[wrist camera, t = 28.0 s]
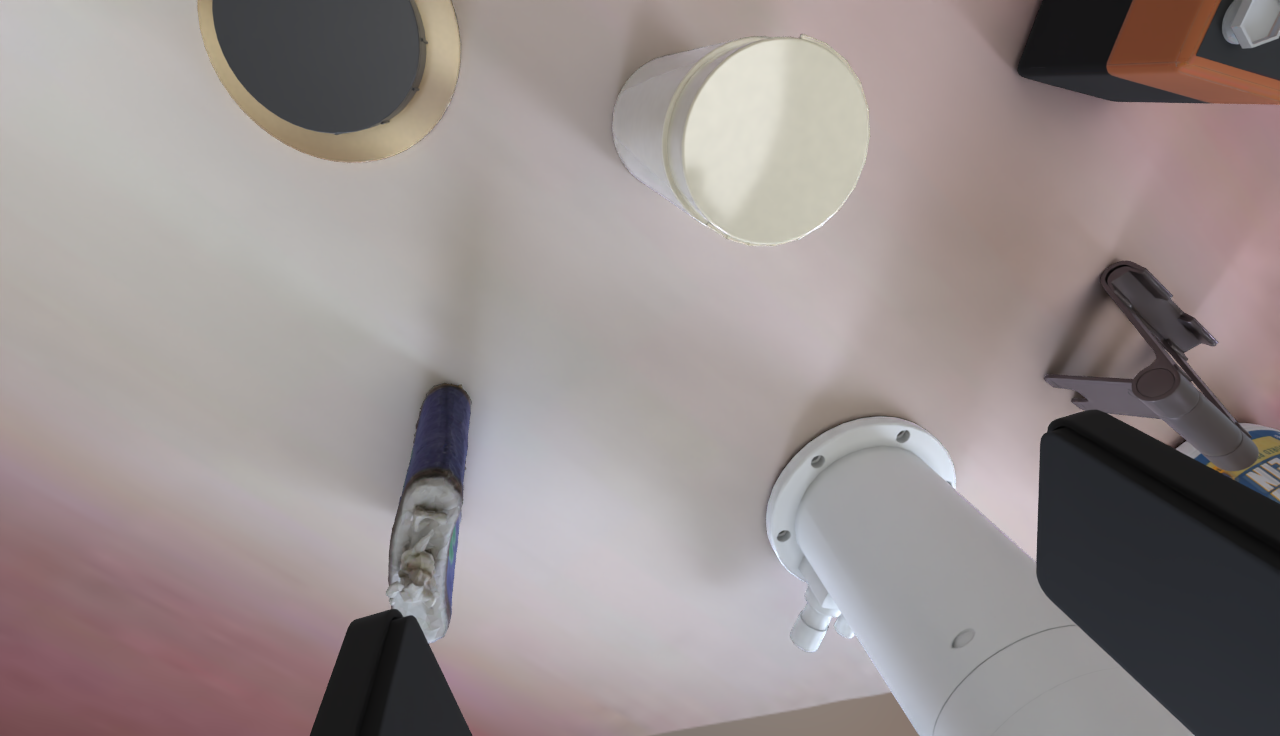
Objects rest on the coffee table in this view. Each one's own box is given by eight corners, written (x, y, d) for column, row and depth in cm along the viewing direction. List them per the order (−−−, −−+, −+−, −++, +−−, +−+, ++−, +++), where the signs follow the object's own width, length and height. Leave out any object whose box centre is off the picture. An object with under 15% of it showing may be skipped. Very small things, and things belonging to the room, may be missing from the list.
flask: (461, 528, 37) (443, 681, 27) (408, 526, 36) (370, 682, 27) (476, 383, 34) (461, 499, 24) (418, 378, 33) (379, 495, 24)
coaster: (435, 189, 30) (435, 190, 29) (192, 120, 27) (187, 121, 27) (483, -49, 27) (483, -51, 26) (212, -156, 24) (207, -159, 23)
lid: (245, -100, 24) (220, -118, 22) (442, -26, 26) (436, -37, 24) (227, 98, 27) (203, 99, 25) (409, 152, 29) (401, 157, 27)
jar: (711, 206, 32) (825, 271, 21) (596, 170, 31) (649, 218, 19) (754, 80, 31) (907, 74, 19) (634, 34, 29) (719, -4, 17)
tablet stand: (1188, 330, 41) (1340, 383, 34) (1099, 424, 43) (1224, 495, 36) (1115, 257, 38) (1264, 298, 31) (1022, 362, 40) (1141, 425, 32)
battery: (1045, -22, 31) (1263, -67, 22) (1153, 13, 33) (1397, -17, 24) (1009, 75, 33) (1199, 70, 24) (1114, 103, 34) (1329, 108, 25)
